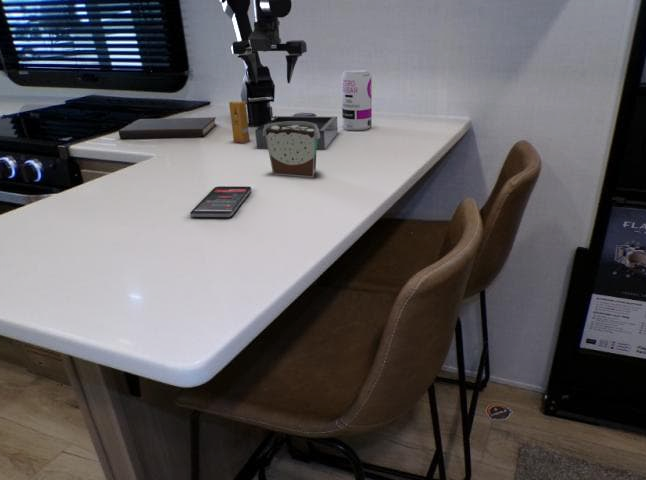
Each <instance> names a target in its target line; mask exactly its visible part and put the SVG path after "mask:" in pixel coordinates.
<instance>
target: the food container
mask: <svg viewBox="0 0 646 480" xmlns="http://www.w3.org/2000/svg"><path fill="white" fill-rule="evenodd" d="M264 135H266V141H267V146H268V148H267V150H268V155H269V161H270V167H271V172H272V175H277V176H289V177H300V178H310V179H311V178H315V177H316V169H317V150H318V149H317V139H319V138H320V133H319V129H318V128H317V125H316V124H314V123H311V122H303V121H286V122H276V123H271V124H267V125H264V129H263V136H264Z"/></svg>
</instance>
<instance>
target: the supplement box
mask: <svg viewBox="0 0 646 480" xmlns="http://www.w3.org/2000/svg"><path fill="white" fill-rule="evenodd" d="M228 105H229V114H230V119H231V120H230V121H231V130H232V139H233V140H232V141H233V143H241V144H245V143H248V142H250V140H251V139H250V131H249V130H250V129H249V126H248V123H249V121H248V113H247V105H246V103H245V101H242V100H232V101H229V103H228Z"/></svg>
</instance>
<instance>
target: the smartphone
mask: <svg viewBox="0 0 646 480" xmlns="http://www.w3.org/2000/svg"><path fill="white" fill-rule="evenodd" d="M251 191H252V187H251V186H231V185H230V186H221V185H219V186H215V187H214V188H212V190H210V192H208V194H206V195H205V197H204V198H202V200H201V201H199V203H198V204H197V205H196V206H195V207H194V208H193V209H192V210H191V211H190V212H189V216H190V217H192V218H211V219H212V218H214V219H215V218H217V219H218V218H222V219H223V218H224V219H225V218H231V217H232V216H233V215H234V214H235V212H236V211H237V210H238V208H239V207H241V204H242V203H243V202H244V201H245V199H246V198H247V197H248V196H249V194H250V193H251Z"/></svg>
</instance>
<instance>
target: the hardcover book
mask: <svg viewBox="0 0 646 480" xmlns="http://www.w3.org/2000/svg"><path fill="white" fill-rule="evenodd" d="M216 119H217V118H216V117H212V116H209V117H174V118H173V117H169V118H139V119H136V120H134V121H132V122H131V123H129V124H128V125H126V126H124V127H122V128H121V129H119V130H118V136H119V138H120V139H121V140H134V139H136V140H137V139H171V138H172V139H174V138H177V139H178V138H179V139H181V138H205V136H207V135H208V134H209V133H210V132H211V131H212V130H213V129H214V128H216V126H218V125H217V123H216Z"/></svg>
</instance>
